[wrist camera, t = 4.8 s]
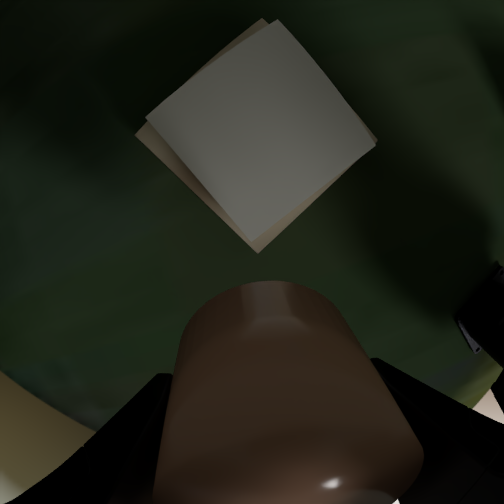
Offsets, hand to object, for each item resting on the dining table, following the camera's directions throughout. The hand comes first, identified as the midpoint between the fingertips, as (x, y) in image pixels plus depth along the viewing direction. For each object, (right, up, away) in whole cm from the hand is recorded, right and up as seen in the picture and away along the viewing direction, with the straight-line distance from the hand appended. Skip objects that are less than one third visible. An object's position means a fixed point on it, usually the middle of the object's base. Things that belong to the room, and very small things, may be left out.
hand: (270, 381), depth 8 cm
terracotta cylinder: (0, 0, +1) cm, 1 cm away
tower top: (0, +10, +7) cm, 12 cm away
